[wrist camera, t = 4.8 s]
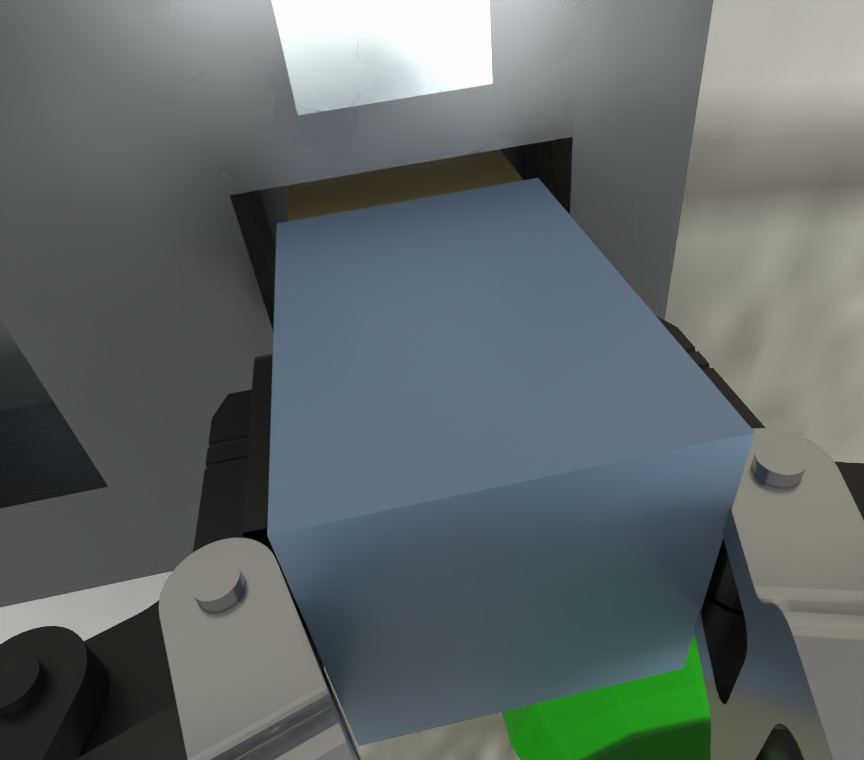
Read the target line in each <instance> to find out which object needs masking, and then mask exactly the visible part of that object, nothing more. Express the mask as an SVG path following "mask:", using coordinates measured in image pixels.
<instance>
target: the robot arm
mask: <svg viewBox="0 0 864 760" xmlns="http://www.w3.org/2000/svg"><path fill="white" fill-rule="evenodd" d="M656 317H657V316H656ZM657 318H658V319H659V320H660V322H661V323H662V324H663V325H664V326H665V327H666V329H667V330H668V331H669V332H670V333H671V334H672V336H673V337H674V338H675V339H676V340H677V341H678V343H679V344H680V345H681V346H682V347H683V349H684V350H685V351H686V352H687V353H688V354H689V356H690V357H691V358H692V359H693V360H694V361H695V363H696V364H697V365H698V366H699V367H700V368H701V370H702V371H703V372H704V373H705V374H706V376H707V377H708V378H709V379H710V380H711V381H712V383H713V384H714V385H715V386H716V387H717V388H718V390H719V391H720V392H721V393H722V394H723V396H724V397H725V398H726V399H727V400H728V401H729V403H730V404H731V405H732V406H733V407H734V408H735V410H736V411H737V412H738V413H739V414H740V415H741V417H742V418H743V419H744V420H745V421H746V423H747V424H748V425H749V426H750V427H751V428H752V430H753V431H754V432H755V435H754V438H753V441H752V444H751V448H750V451H749V454H748V458H747V461H746V464H745V467H744V471H743V474H742V477H741V481H740V484H739V487H738V491H737V494H736V497H735V500H734V504H733V506H730V509H729V513H728V516H727V519H726V523H725V526H724V529H723V533H722V535H723V540H722V543H721V547H720V550H719V553H718V556H717V560H716V563H715V566H714V570H713V573H712V576H711V580H710V583H709V586H708V589H707V593H706V596H705V599H704V603H703V606H702V609H699V613H698V616H697V619H696V623H695V626H694V633H695V638H696V643H697V648H698V653H699V658H700V663H701V668H702V673H703V678H704V683H705V688H706V693H707V698H708V703H709V708H710V716H711V746H710V753H711V760H864V463H845V462H834V460H833V459H832V458H831V457H830V456H829V455H828V454H827V453H826V452H825V451H824V450H823V449H821V448H820V447H819V446H817V445H816V444H814V443H813V442H811V441H809V440H807V439H805V438H803V437H801V436H798V435H796V434H793V433H790V432H786V431H783V430H777V429H769V428H765V427H764V426H763V425H762V423H761V422H760V421H759V420H758V419H757V418H756V417H755V415H754V414H753V413H752V412H751V411H750V410H749V409H748V407H747V406H746V405H745V404H744V403H743V402H742V401H741V399H740V398H739V397H738V396H737V395H736V394H735V393H734V391H733V390H732V389H731V388H730V387H729V386H728V385H727V383H726V382H725V381H724V380H723V379H722V378H721V377H720V375H719V374H718V373H717V372H716V371H715V370H714V369H713V368H710V367H709V363H708V362H707V361H706V359H705V358H704V357H703V356H702V355H701V354H700V353H699V352H698V351H697V352H696V351H695V347H694V346H693V345H692V344H691V342H690V341H689V340H688V339H687V338H686V337H685V336H684V334H683V333H682V332H681V331H680V330H679V329H678V328H677V327H676V326H674V325H672V324H670V323H668V322H666V321H665V320H663V319H661V318H659V317H657ZM272 364H273V354H269V355H264V356H258V357H255V359H254V367H253V382H252V389H251V390H246V391H241V392H236V393H230V394H228V395H227V396H226V398H225V399H224V401H223V402H222V404H221V405H220V407H219V408H218V410H217V411H216V413H215V414H214V416H213V417H212V421H211V428H210V435H209V442H208V444H209V448H208V449H207V456H206V463H205V464H206V469H205V470H204V478H203V485H202V492H201V499H200V506H199V513H198V520H197V527H196V534H195V542H194V548H193V553H192V554H191V555H189V556H188V557H187V558H186V559H184V560H183V561H182V562H181V563H180V564H179V565H178V566H177V567H176V568H175V570H174V571H173V572H172V573H171V575H170V576H169V578H168V579H167V581H166V583H165V585H164V587H163V589H162V592H161V596H160V600H159V601H157V602H156V603H155V604H153V605H152V606H150V607H149V608H148V609H146V610H144V611H142V612H141V613H139V614H137V615H135V616H133V617H131V618H129V619H127V620H125V621H123V622H121V623H119V624H117V625H115V626H113V627H111V628H110V629H108V630H106V631H104V632H102V633H100V634H98V635H96V636H94V637H92V638H90V639H88V640H86V641H83V640H82V639H81V638H80V637H79V635H77V634H76V633H75V632H73V631H72V630H69V629H67V628H64V627H58V626H45V627H40V628H35V629H31V630H28V631H26V632H23V633H20V634H18V635H16V636H14V637H12V638H10V639H8V640H7V641H5V642H4V643H2V644H0V760H361V759H360V756H359V754H358V751H357V749H356V746H355V744H354V741H353V739H352V736H351V734H350V731H349V729H348V726H347V724H346V722H345V719H344V717H343V714H342V712H341V709H340V707H339V704H338V702H337V699H336V697H335V694H334V692H333V689H332V687H331V684H330V682H329V679H328V677H327V674H326V672H325V669H324V664H323V662H322V660H321V657H320V655H319V653H318V650H317V648H316V646H315V644H314V641H313V639H312V637H311V634H310V632H309V630H308V628H307V625H306V623H305V621H304V618H303V616H302V614H301V612H300V609H299V607H298V605H297V602H296V600H295V598H294V596H293V593H292V591H291V589H290V586H289V584H288V582H287V579H286V577H285V575H284V573H283V570H282V568H281V566H280V563H279V561H278V559H277V557H276V554H275V552H274V550H273V547H272V545H271V543H270V541H269V538H268V536H267V527H268V495H269V462H270V430H271V397H272Z"/></svg>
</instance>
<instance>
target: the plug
mask: <svg viewBox="0 0 864 760" xmlns="http://www.w3.org/2000/svg"><path fill="white" fill-rule="evenodd" d="M754 435H755V432H754V431H753V430H752V428H751V427H750V426H749V425H748V424H747V423H746V421H745V420H744V419H743V418H742V417H741V415H740V414H739V413H738V412H737V411H736V410H735V408H734V407H733V406H732V405H731V404H730V403H729V401H728V400H727V399H726V398H725V397H724V396H723V394H722V393H721V392H720V391H719V390H718V388H717V387H716V386H715V385H714V384H713V383H712V381H711V380H710V379H709V378H708V377H707V376H706V374H705V373H704V372H703V371H702V370H701V368H700V367H699V366H698V365H697V364H696V363H695V361H694V360H693V359H692V358H691V357H690V356H689V354H688V353H687V352H686V351H685V350H684V349H683V347H682V346H681V345H680V344H679V343H678V341H677V340H676V339H675V338H674V337H673V336H672V334H671V333H670V332H669V331H668V330H667V329H666V327H665V326H664V325H663V324H662V323H661V322H660V320H659V319H658V318H657V317H656V316H655V314H654V313H653V312H652V311H651V310H650V309H649V307H648V306H647V305H646V304H645V303H644V302H643V300H642V299H641V298H640V297H639V296H638V295H637V293H636V292H635V291H634V290H633V289H632V287H631V286H630V285H629V284H628V283H627V282H626V280H625V279H624V278H623V277H622V276H621V275H620V273H619V272H618V271H617V270H616V269H615V267H614V266H613V265H612V264H611V263H610V262H609V260H608V259H607V258H606V257H605V256H604V255H603V253H602V252H601V251H600V250H599V249H598V248H597V246H596V245H595V244H594V243H593V242H592V240H591V239H590V238H589V237H588V236H587V235H586V233H585V232H584V231H583V230H582V229H581V228H580V226H579V225H578V224H577V223H576V222H575V221H574V219H573V218H572V217H571V216H570V215H569V213H568V212H567V211H566V210H565V209H564V208H563V206H562V205H561V204H560V203H559V202H558V201H557V199H556V198H555V197H554V196H553V195H552V194H551V192H550V191H549V190H548V189H547V188H546V186H545V185H544V184H543V183H542V182H541V181H540V179H539V178H534V179H528V180H523V179H522V177H521V176H520V175H519V174H518V172H517V171H516V170H515V169H514V167H513V166H512V165H511V164H510V162H509V161H508V160H507V159H506V157H505V156H504V155H503V153H502V152H501V151H500V150H499V149H498V150H492V151H486V152H480V153H474V154H468V155H463V156H457V157H451V158H445V159H439V160H433V161H427V162H421V163H416V164H410V165H404V166H398V167H392V168H386V169H380V170H374V171H369V172H363V173H357V174H351V175H345V176H339V177H333V178H328V179H322V180H316V181H310V182H304V183H298V184H292V185H288V222H282V223H277V234H276V266H275V299H274V332H273V364H272V397H271V430H270V462H269V495H268V527H267V536H268V538H269V541H270V543H271V545H272V547H273V550H274V552H275V554H276V557H277V559H278V561H279V563H280V566H281V568H282V570H283V573H284V575H285V577H286V579H287V582H288V584H289V586H290V589H291V591H292V593H293V596H294V598H295V600H296V602H297V605H298V607H299V609H300V612H301V614H302V616H303V618H304V621H305V623H306V625H307V628H308V630H309V632H310V634H311V637H312V639H313V641H314V644H315V646H316V648H317V650H318V653H319V655H320V657H321V660H322V662H323V664H324V666H325V669H326V671H327V673H328V676H329V678H330V680H331V682H332V685H333V687H334V689H335V692H336V694H337V696H338V699H339V701H340V703H341V705H342V708H343V710H344V712H345V715H346V717H347V719H348V721H349V724H350V726H351V728H352V731H353V733H354V735H355V737H356V740H357V742H358V744H359V745H364V744H368V743H372V742H376V741H380V740H385V739H389V738H393V737H397V736H401V735H406V734H410V733H414V732H418V731H422V730H427V729H431V728H435V727H439V726H443V725H448V724H452V723H456V722H460V721H464V720H469V719H473V718H477V717H481V716H486V715H490V714H494V713H498V712H502V711H507V710H511V709H515V708H519V707H523V706H528V705H532V704H536V703H540V702H544V701H549V700H553V699H557V698H561V697H565V696H570V695H574V694H578V693H582V692H586V691H591V690H595V689H599V688H603V687H608V686H612V685H616V684H620V683H624V682H629V681H633V680H637V679H641V678H645V677H650V676H654V675H658V674H662V673H666V672H671V671H675V670H679V669H683V668H684V665H685V662H686V659H687V655H688V652H689V649H690V645H691V642H692V639H693V636H694V626H695V623H696V619H697V616H698V613H699V609H702V606H703V603H704V599H705V596H706V593H707V589H708V586H709V583H710V580H711V576H712V573H713V570H714V566H715V563H716V560H717V556H718V553H719V550H720V547H721V543H722V540H723V535H722V533H723V529H724V526H725V523H726V519H727V516H728V513H729V509H730V506H733V504H734V500H735V497H736V494H737V491H738V487H739V484H740V481H741V477H742V474H743V471H744V467H745V464H746V461H747V458H748V454H749V451H750V448H751V444H752V441H753V438H754Z"/></svg>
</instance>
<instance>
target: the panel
mask: <svg viewBox="0 0 864 760" xmlns="http://www.w3.org/2000/svg"><path fill="white" fill-rule="evenodd" d="M712 4H713V0H0V607H4V606H9V605H14V604H18V603H23V602H28V601H33V600H37V599H42V598H47V597H51V596H56V595H61V594H66V593H70V592H75V591H80V590H84V589H89V588H94V587H99V586H103V585H108V584H113V583H117V582H122V581H127V580H132V579H136V578H141V577H146V576H150V575H155V574H160V573H165V572H169V571H174V570H175V568H176V567H177V566H178V565H179V564H180V563H181V562H182V561H183V560H184V559H186V558H187V557H188V556H189V555H191V554H192V553H193V548H194V542H195V534H196V527H197V520H198V513H199V506H200V499H201V492H202V485H203V478H204V470H205V469H206V464H205V463H206V456H207V449H208V448H209V444H208V442H209V435H210V428H211V421H212V417H213V416H214V414H215V413H216V411H217V410H218V408H219V407H220V405H221V404H222V402H223V401H224V399H225V398H226V396H227V395H228V394H230V393H236V392H241V391H246V390H251V389H252V382H253V367H254V359H255V357H258V356H264V355H269V354H273V332H274V299H275V266H276V234H277V223H282V222H288V185H292V184H298V183H304V182H310V181H316V180H322V179H328V178H333V177H339V176H345V175H351V174H357V173H363V172H369V171H374V170H380V169H386V168H392V167H398V166H404V165H410V164H416V163H421V162H427V161H433V160H439V159H445V158H451V157H457V156H463V155H468V154H474V153H480V152H486V151H492V150H498V149H499V150H500V151H501V152H502V153H503V155H504V156H505V157H506V159H507V160H508V161H509V162H510V164H511V165H512V166H513V167H514V169H515V170H516V171H517V172H518V174H519V175H520V176H521V177H522V179H523V180H528V179H534V178H539V179H540V181H541V182H542V183H543V184H544V185H545V186H546V188H547V189H548V190H549V191H550V192H551V194H552V195H553V196H554V197H555V198H556V199H557V201H558V202H559V203H560V204H561V205H562V206H563V208H564V209H565V210H566V211H567V212H568V213H569V215H570V216H571V217H572V218H573V219H574V221H575V222H576V223H577V224H578V225H579V226H580V228H581V229H582V230H583V231H584V232H585V233H586V235H587V236H588V237H589V238H590V239H591V240H592V242H593V243H594V244H595V245H596V246H597V248H598V249H599V250H600V251H601V252H602V253H603V255H604V256H605V257H606V258H607V259H608V260H609V262H610V263H611V264H612V265H613V266H614V267H615V269H616V270H617V271H618V272H619V273H620V275H621V276H622V277H623V278H624V279H625V280H626V282H627V283H628V284H629V285H630V286H631V287H632V289H633V290H634V291H635V292H636V293H637V295H638V296H639V297H640V298H641V299H642V300H643V302H644V303H645V304H646V305H647V306H648V307H649V309H650V310H651V311H652V312H653V313H654V314H655V316H657V317H659V318H661V319H663V320H664V318H665V311H666V305H667V298H668V292H669V285H670V279H671V272H672V266H673V259H674V253H675V246H676V239H677V233H678V226H679V220H680V213H681V207H682V200H683V194H684V187H685V181H686V174H687V168H688V161H689V155H690V148H691V142H692V135H693V128H694V122H695V115H696V109H697V102H698V96H699V89H700V83H701V76H702V70H703V63H704V57H705V50H706V44H707V37H708V31H709V24H710V18H711V11H712Z"/></svg>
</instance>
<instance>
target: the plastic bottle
mask: <svg viewBox="0 0 864 760" xmlns="http://www.w3.org/2000/svg"><path fill="white" fill-rule="evenodd" d="M503 716H504V720H505V724H506V727H507V731H508V735H509V739H510V743H511V745H512V747H513V748H514V750H515V751H516V753H517V754H518V756H519V757H520V759H521V760H711V753H710V746H711V716H710V708H709V703H708V698H707V693H706V688H705V683H704V678H703V673H702V668H701V663H700V658H699V653H698V648H697V643H696V638H695V633H694V636H693V639H692V642H691V645H690V649H689V652H688V655H687V659H686V662H685V665H684V668H683V669H679V670H675V671H671V672H666V673H662V674H658V675H654V676H650V677H645V678H641V679H637V680H633V681H629V682H624V683H620V684H616V685H612V686H608V687H603V688H599V689H595V690H591V691H586V692H582V693H578V694H574V695H570V696H565V697H561V698H557V699H553V700H549V701H544V702H540V703H536V704H532V705H528V706H523V707H519V708H515V709H511V710H507V711H503Z"/></svg>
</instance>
